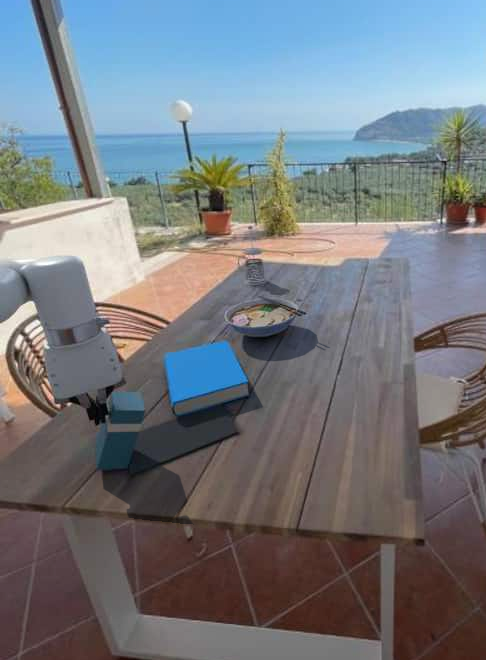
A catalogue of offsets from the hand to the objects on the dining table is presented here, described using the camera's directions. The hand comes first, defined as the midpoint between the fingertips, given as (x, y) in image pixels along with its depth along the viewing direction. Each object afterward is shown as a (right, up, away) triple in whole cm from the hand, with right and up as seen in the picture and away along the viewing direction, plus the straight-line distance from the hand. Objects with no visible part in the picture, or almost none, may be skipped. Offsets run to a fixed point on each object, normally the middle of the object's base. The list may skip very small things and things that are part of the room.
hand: (100, 420), depth 71 cm
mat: (+10, -7, +10) cm, 16 cm away
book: (+8, 0, +29) cm, 30 cm away
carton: (0, -8, +3) cm, 9 cm away
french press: (0, +27, +102) cm, 105 cm away
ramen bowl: (+16, +10, +55) cm, 58 cm away
